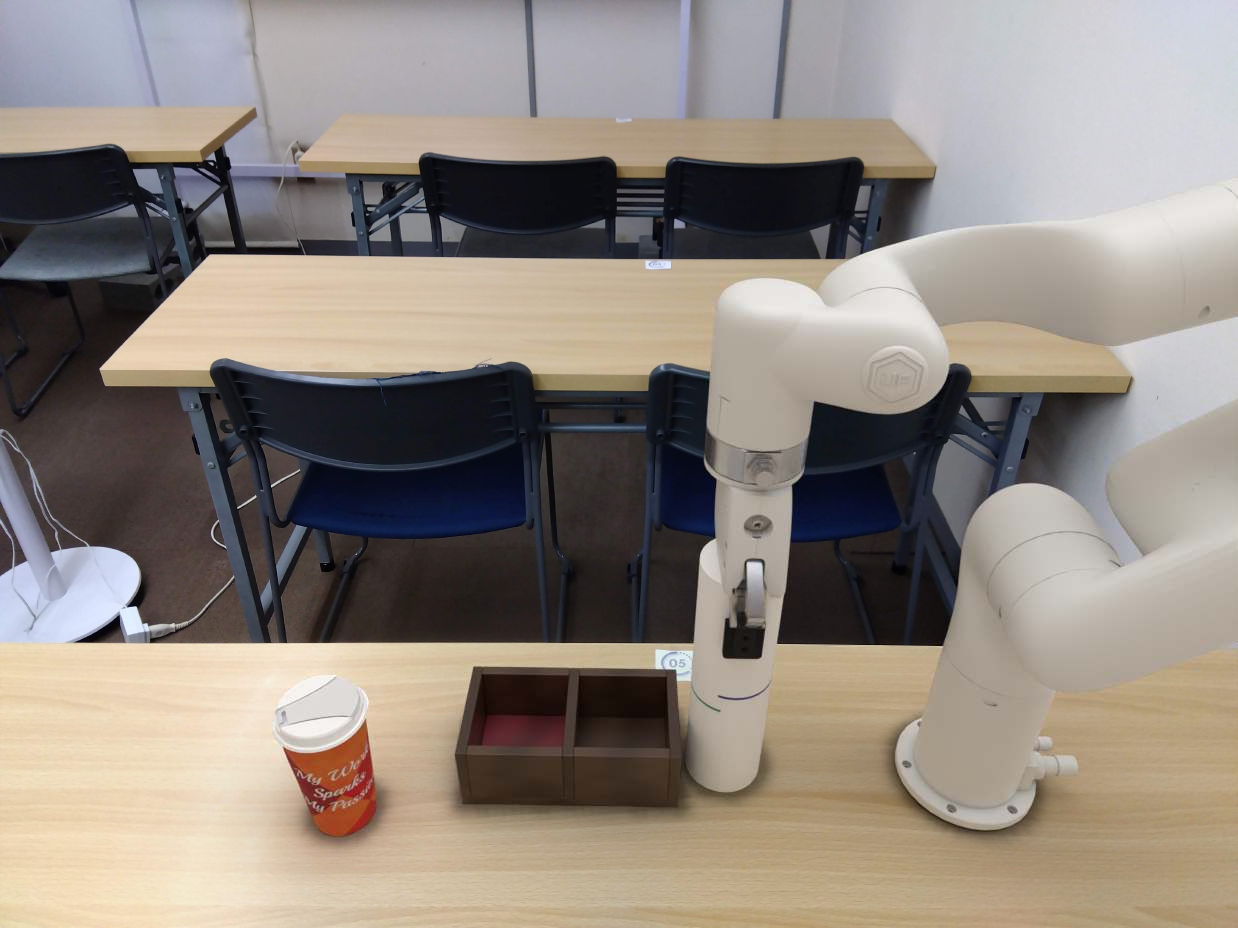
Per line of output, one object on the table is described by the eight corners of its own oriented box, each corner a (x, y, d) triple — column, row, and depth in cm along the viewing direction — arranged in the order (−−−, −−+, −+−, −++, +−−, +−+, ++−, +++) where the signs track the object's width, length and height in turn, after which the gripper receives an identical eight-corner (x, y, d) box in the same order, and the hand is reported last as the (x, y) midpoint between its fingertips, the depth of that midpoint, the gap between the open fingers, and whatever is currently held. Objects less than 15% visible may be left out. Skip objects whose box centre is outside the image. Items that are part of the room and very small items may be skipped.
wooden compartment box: (673, 717, 88) (676, 668, 84) (677, 807, 79) (681, 757, 75) (479, 714, 88) (473, 665, 84) (461, 803, 79) (454, 753, 75)
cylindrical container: (756, 798, 80) (786, 595, 66) (680, 784, 81) (694, 582, 67) (761, 737, 86) (789, 539, 72) (690, 725, 87) (705, 529, 73)
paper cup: (310, 861, 74) (277, 755, 67) (295, 793, 80) (262, 688, 72) (399, 824, 77) (377, 719, 70) (378, 761, 83) (355, 658, 75)
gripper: (828, 516, 56) (796, 701, 66) (788, 392, 71) (767, 559, 81) (714, 515, 57) (699, 700, 66) (697, 391, 71) (687, 558, 81)
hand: (736, 621), depth 73 cm, fingers closed on cylindrical container, 7 cm apart
